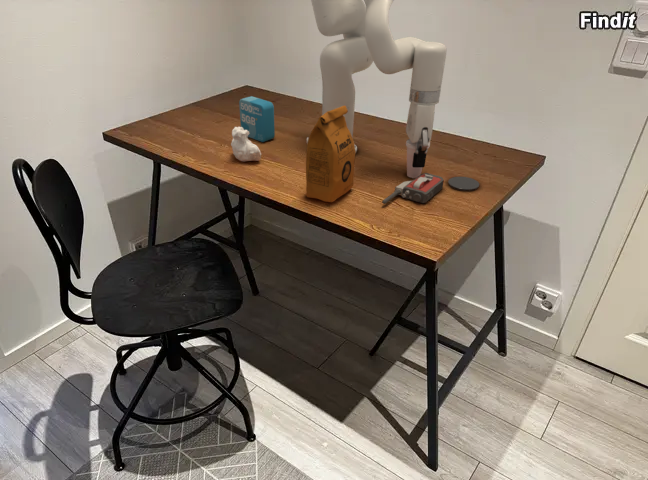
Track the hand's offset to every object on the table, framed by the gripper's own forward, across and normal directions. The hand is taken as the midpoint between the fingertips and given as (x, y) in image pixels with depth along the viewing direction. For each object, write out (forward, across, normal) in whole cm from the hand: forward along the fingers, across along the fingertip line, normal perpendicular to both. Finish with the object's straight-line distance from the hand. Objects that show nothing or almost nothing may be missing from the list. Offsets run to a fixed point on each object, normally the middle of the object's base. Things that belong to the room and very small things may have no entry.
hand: (415, 161), depth 141 cm
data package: (+4, -32, -45) cm, 55 cm away
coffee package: (+4, +11, -24) cm, 27 cm away
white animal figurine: (+4, -13, -48) cm, 50 cm away
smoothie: (+4, 0, 0) cm, 4 cm away
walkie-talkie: (+4, +13, -3) cm, 14 cm away
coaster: (+4, +6, +12) cm, 14 cm away
